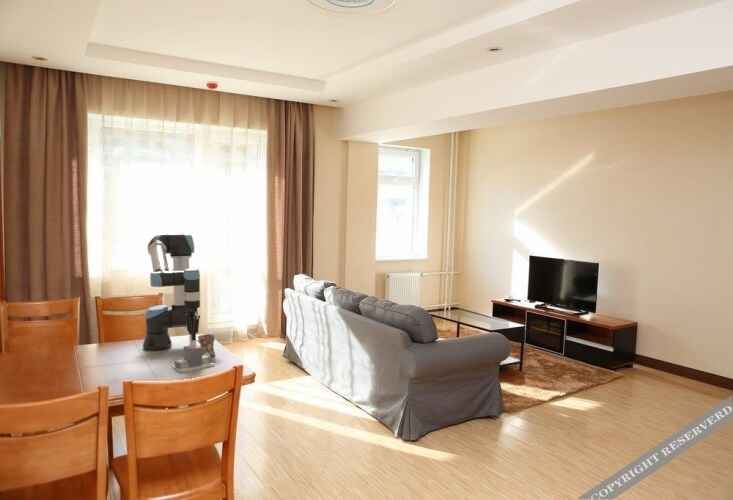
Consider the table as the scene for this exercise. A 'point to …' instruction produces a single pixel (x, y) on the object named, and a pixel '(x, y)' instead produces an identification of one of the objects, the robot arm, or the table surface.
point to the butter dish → (185, 364)
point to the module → (193, 355)
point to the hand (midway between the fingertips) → (192, 346)
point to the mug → (207, 344)
